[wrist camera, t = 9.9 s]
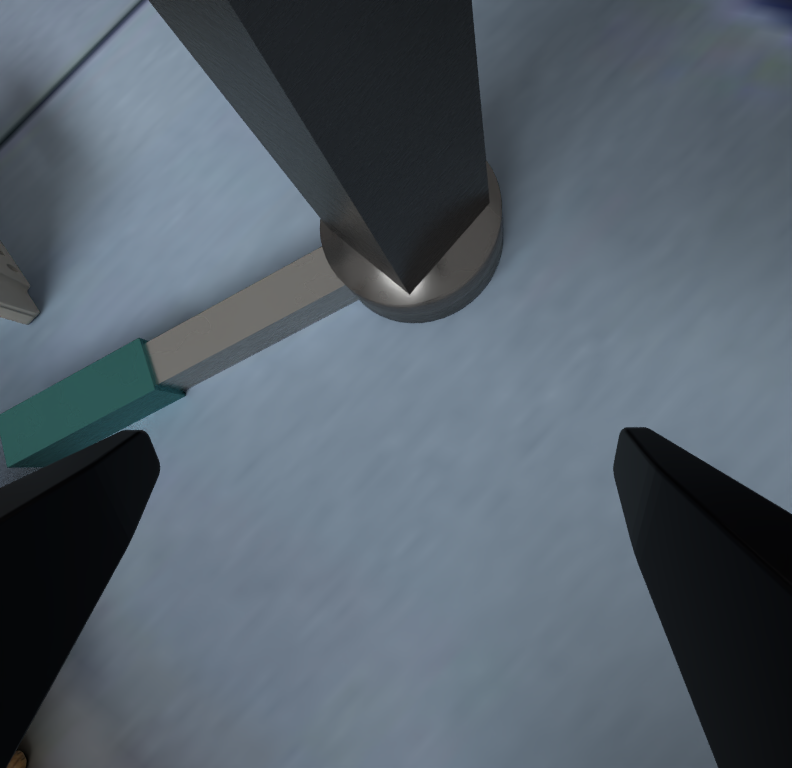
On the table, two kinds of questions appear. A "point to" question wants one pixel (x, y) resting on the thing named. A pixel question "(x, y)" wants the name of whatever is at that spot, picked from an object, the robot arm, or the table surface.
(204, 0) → the charcoal square pillar
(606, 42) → the table surface
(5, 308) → the cassette
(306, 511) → the table surface
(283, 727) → the table surface
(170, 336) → the ratchet
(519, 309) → the table surface
